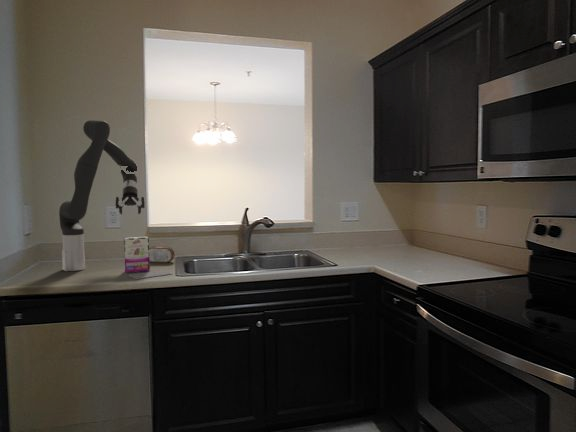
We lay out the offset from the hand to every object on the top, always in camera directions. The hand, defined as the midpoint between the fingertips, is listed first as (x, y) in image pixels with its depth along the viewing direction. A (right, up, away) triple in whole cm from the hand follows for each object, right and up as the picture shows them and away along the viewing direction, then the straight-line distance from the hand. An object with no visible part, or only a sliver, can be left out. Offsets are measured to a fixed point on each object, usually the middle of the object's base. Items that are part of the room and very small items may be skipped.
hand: (130, 213), depth 214 cm
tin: (+13, -26, +8) cm, 30 cm away
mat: (+18, -29, -23) cm, 41 cm away
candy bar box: (+9, -28, -15) cm, 33 cm away
